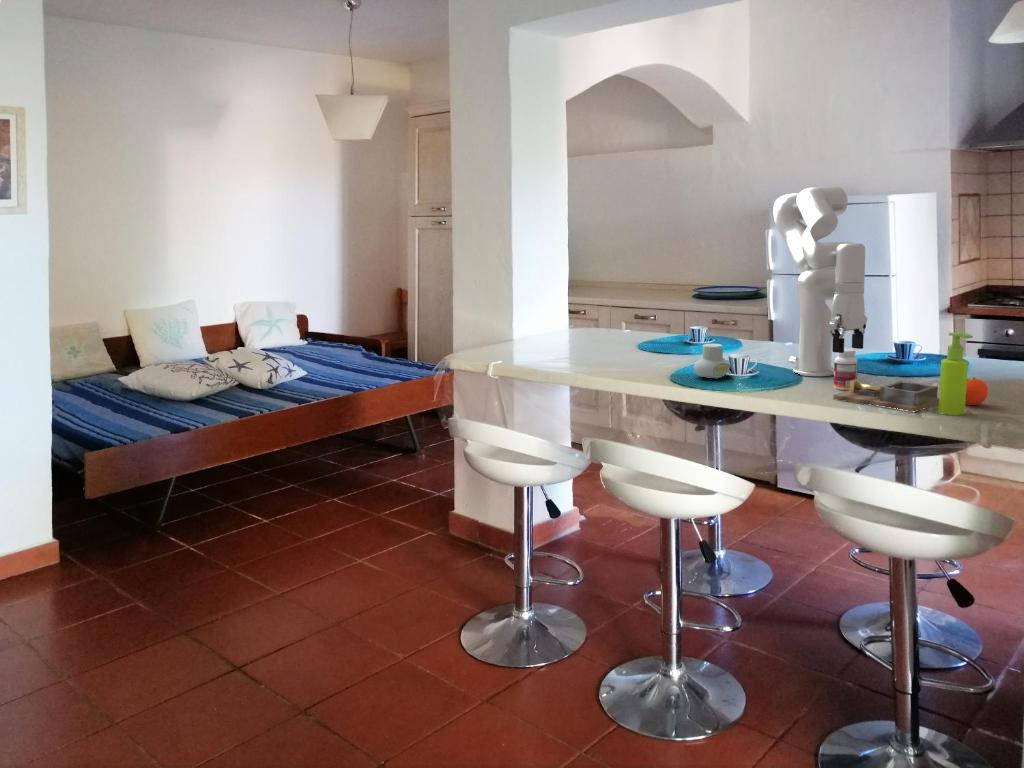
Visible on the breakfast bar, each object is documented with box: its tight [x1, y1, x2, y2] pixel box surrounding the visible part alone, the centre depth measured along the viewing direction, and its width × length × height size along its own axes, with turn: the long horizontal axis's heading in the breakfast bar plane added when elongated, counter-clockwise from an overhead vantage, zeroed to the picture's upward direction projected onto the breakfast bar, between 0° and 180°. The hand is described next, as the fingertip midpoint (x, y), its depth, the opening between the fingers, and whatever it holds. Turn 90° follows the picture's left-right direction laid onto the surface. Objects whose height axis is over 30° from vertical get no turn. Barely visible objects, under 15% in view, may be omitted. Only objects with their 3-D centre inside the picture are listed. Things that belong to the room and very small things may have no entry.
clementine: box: [965, 377, 989, 406], centre depth 229 cm, size 8×7×7 cm
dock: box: [832, 380, 939, 411], centre depth 236 cm, size 22×14×5 cm, turn 39°
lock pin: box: [850, 378, 883, 394], centre depth 240 cm, size 9×3×3 cm, turn 39°
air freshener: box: [693, 343, 731, 378], centre depth 273 cm, size 11×8×10 cm
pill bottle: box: [833, 347, 859, 391], centre depth 252 cm, size 6×6×11 cm
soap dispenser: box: [937, 332, 974, 416], centre depth 220 cm, size 6×7×20 cm
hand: (847, 350), depth 250 cm, fingers open, 9 cm apart
